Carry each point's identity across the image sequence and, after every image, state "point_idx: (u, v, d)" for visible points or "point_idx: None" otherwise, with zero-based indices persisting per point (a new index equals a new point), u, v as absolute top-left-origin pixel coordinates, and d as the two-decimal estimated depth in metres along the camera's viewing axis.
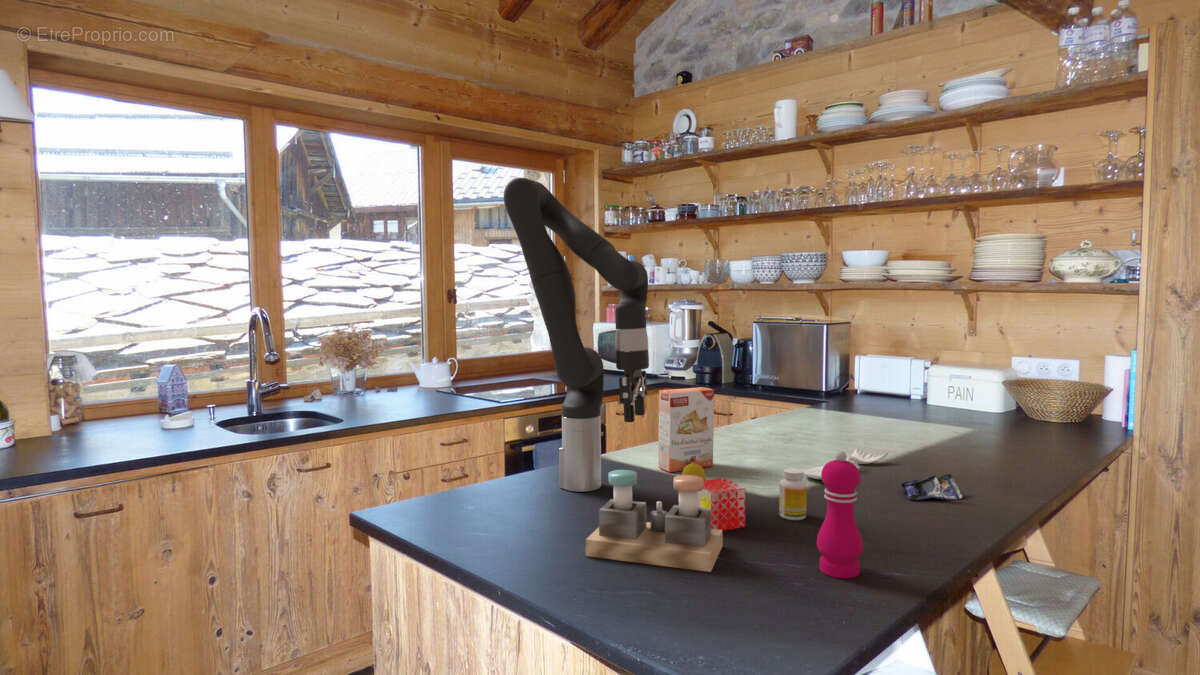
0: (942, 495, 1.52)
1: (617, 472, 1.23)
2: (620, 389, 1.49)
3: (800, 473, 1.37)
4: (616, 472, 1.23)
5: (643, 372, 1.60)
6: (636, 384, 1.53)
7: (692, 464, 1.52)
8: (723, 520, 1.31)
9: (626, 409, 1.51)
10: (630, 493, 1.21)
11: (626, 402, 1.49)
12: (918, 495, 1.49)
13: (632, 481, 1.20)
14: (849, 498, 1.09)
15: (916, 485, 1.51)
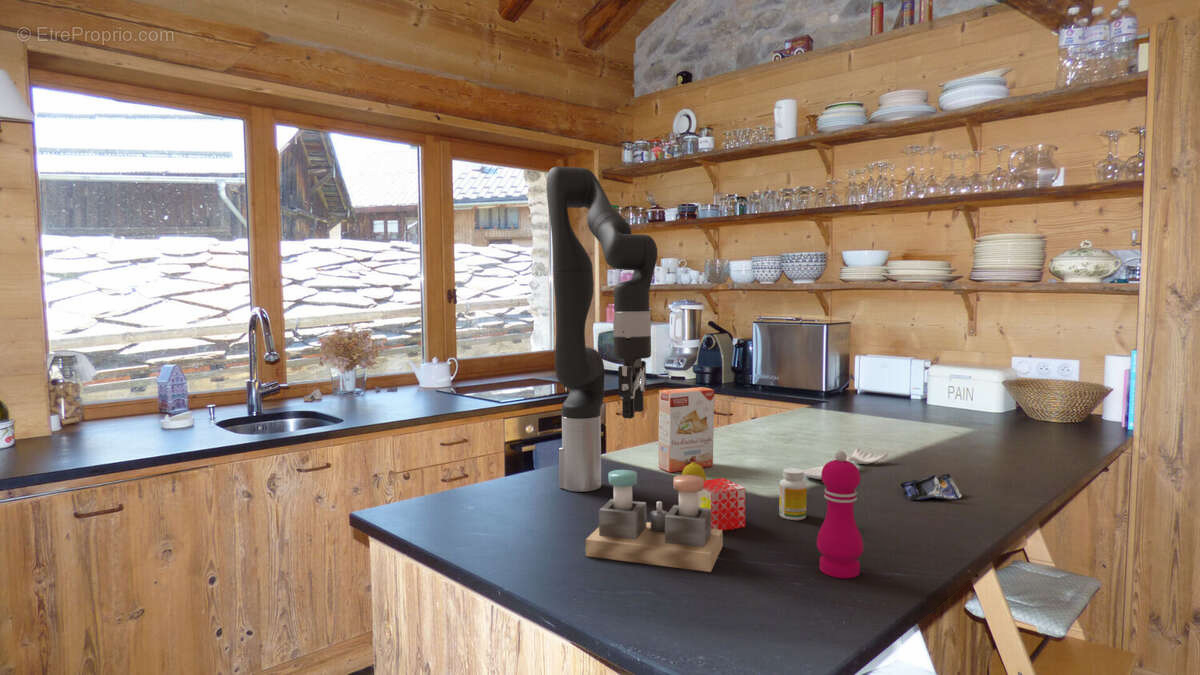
0: (941, 495, 1.52)
1: (617, 472, 1.23)
2: (619, 380, 1.30)
3: (800, 473, 1.37)
4: (616, 472, 1.23)
5: (643, 363, 1.41)
6: (637, 375, 1.33)
7: (692, 464, 1.52)
8: (723, 520, 1.31)
9: (625, 403, 1.31)
10: (630, 493, 1.21)
11: (626, 395, 1.29)
12: (919, 495, 1.49)
13: (632, 481, 1.20)
14: (849, 498, 1.09)
15: (916, 485, 1.51)
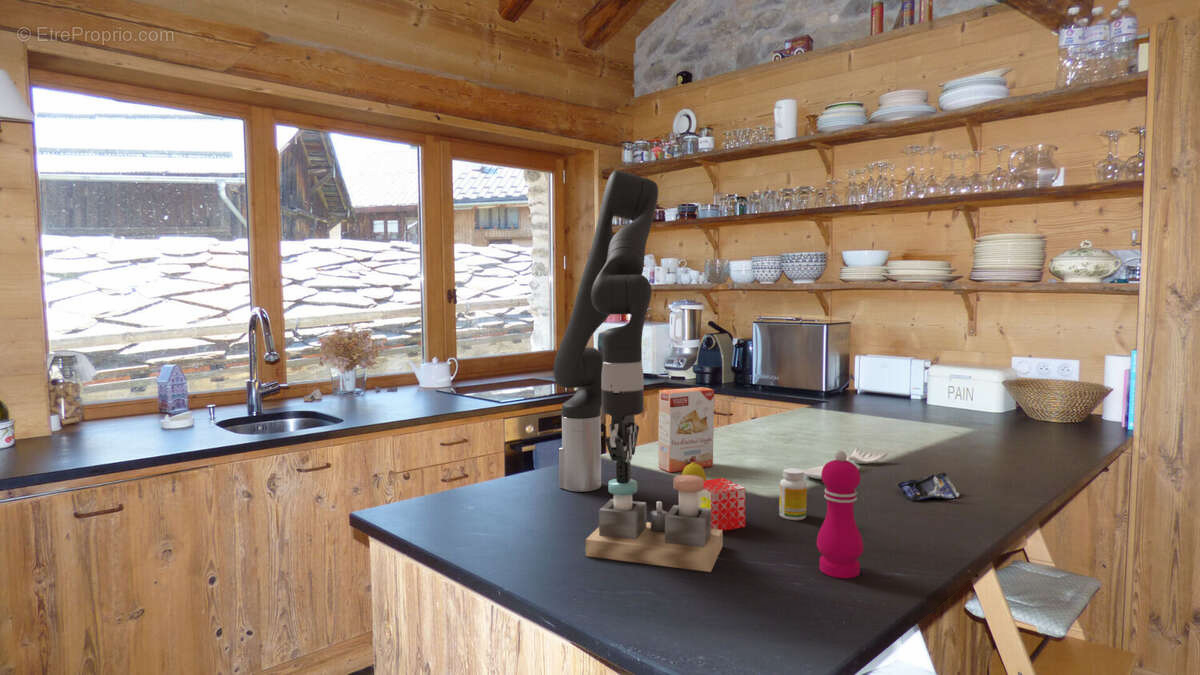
0: (939, 494, 1.53)
1: None
2: (610, 450, 1.18)
3: (800, 473, 1.37)
4: (616, 481, 1.23)
5: (635, 426, 1.26)
6: (628, 436, 1.20)
7: (692, 464, 1.52)
8: (723, 520, 1.31)
9: (619, 467, 1.21)
10: (630, 502, 1.21)
11: (619, 459, 1.19)
12: (920, 495, 1.48)
13: (632, 490, 1.20)
14: (849, 498, 1.09)
15: (915, 485, 1.51)
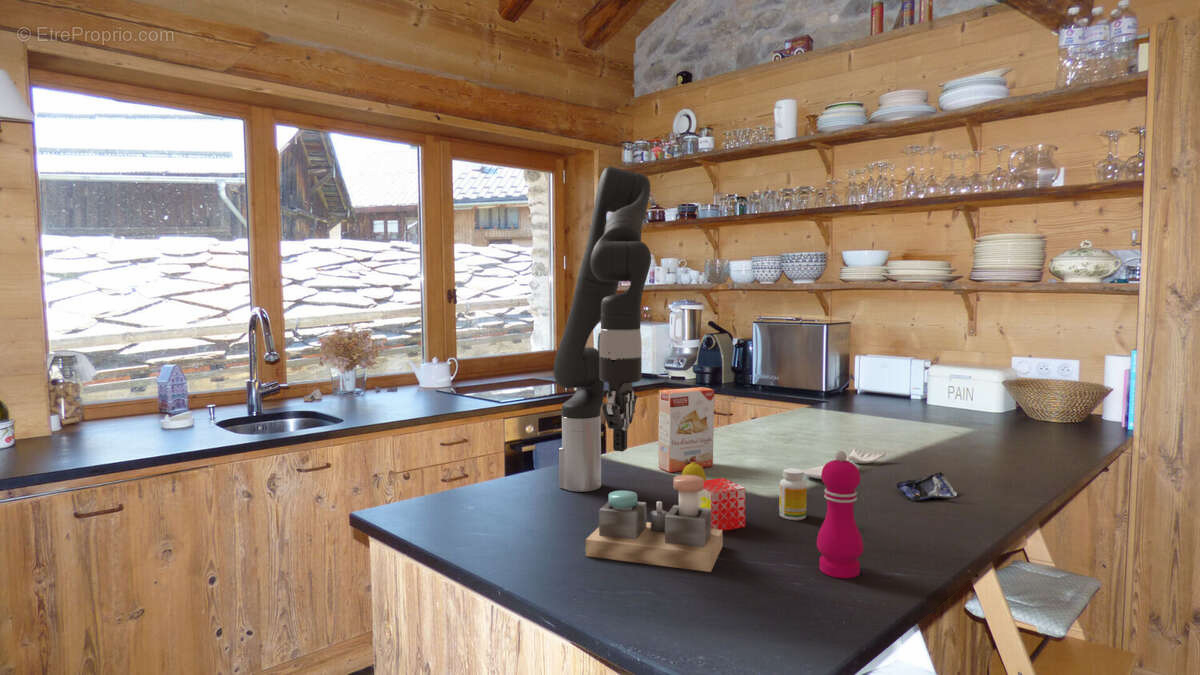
0: (937, 494, 1.53)
1: (617, 494, 1.23)
2: (606, 417, 1.17)
3: (800, 473, 1.37)
4: (616, 493, 1.23)
5: (633, 395, 1.26)
6: (625, 404, 1.19)
7: (692, 464, 1.52)
8: (723, 520, 1.31)
9: (616, 435, 1.20)
10: None
11: (616, 427, 1.18)
12: (920, 495, 1.48)
13: (632, 503, 1.20)
14: (849, 498, 1.09)
15: (915, 485, 1.51)
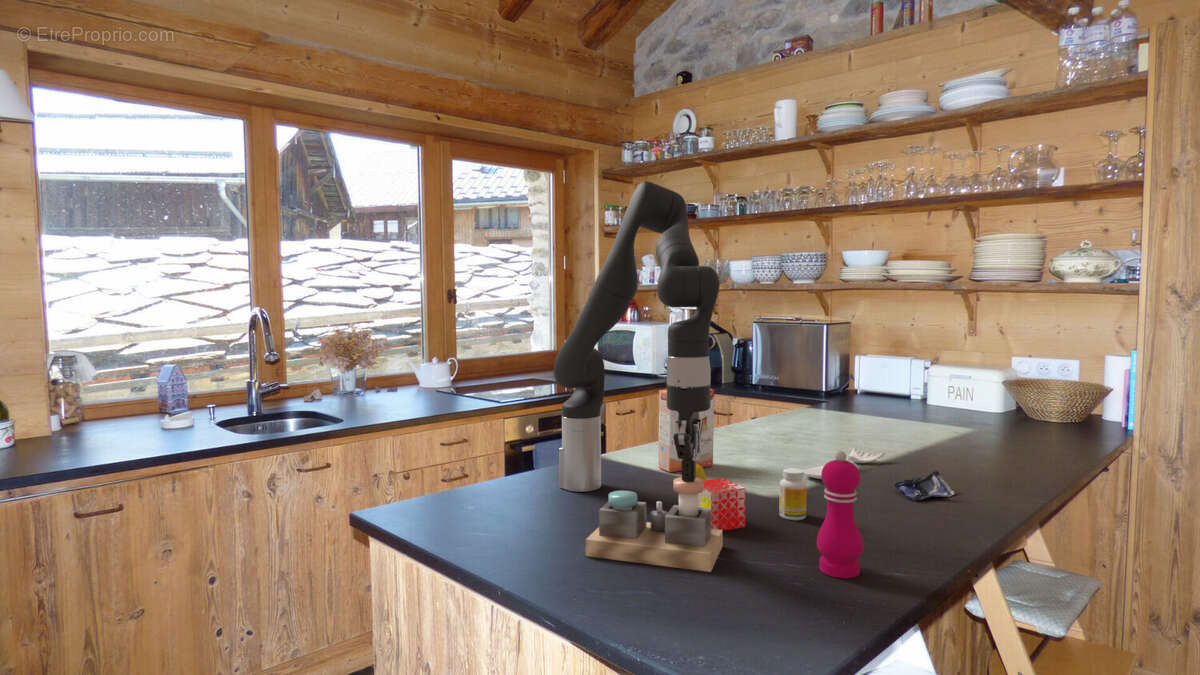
0: (935, 493, 1.54)
1: (617, 494, 1.23)
2: (677, 448, 1.14)
3: (800, 473, 1.37)
4: (616, 493, 1.23)
5: None
6: (695, 434, 1.16)
7: None
8: (723, 520, 1.31)
9: (685, 465, 1.17)
10: None
11: (686, 457, 1.15)
12: (921, 495, 1.48)
13: (632, 503, 1.20)
14: (849, 498, 1.09)
15: (915, 485, 1.51)
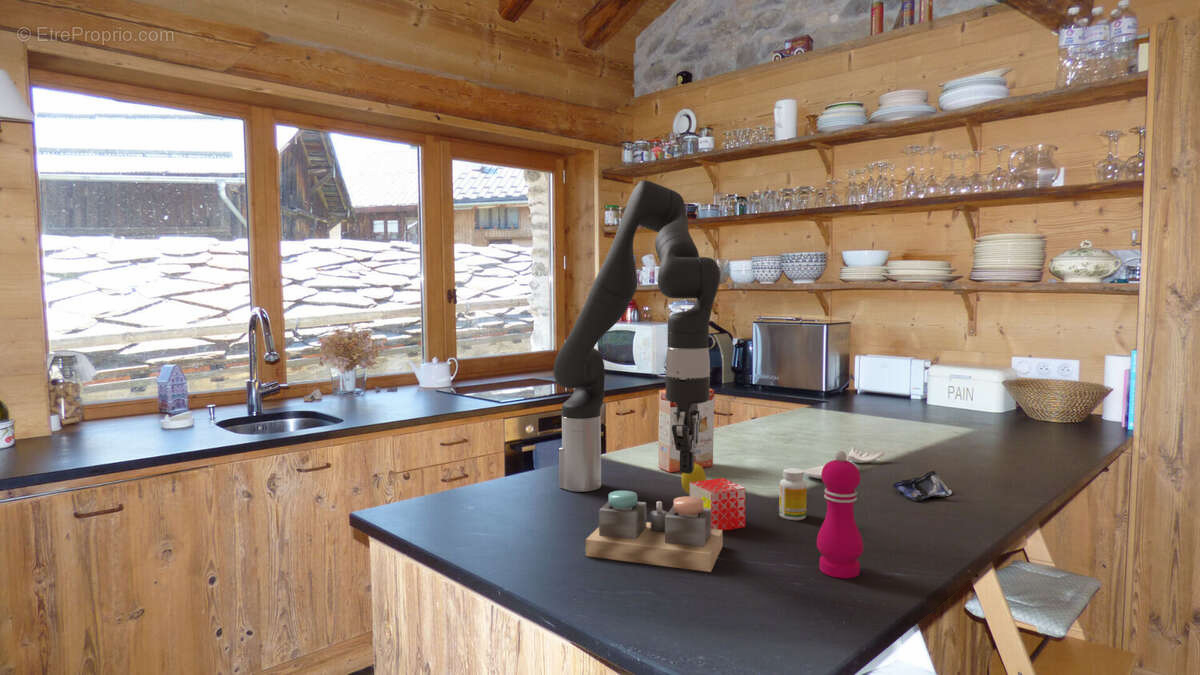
0: None
1: (617, 494, 1.23)
2: (675, 439, 1.13)
3: (800, 473, 1.37)
4: (616, 493, 1.23)
5: None
6: (693, 425, 1.15)
7: None
8: (723, 520, 1.31)
9: (683, 457, 1.17)
10: None
11: (685, 449, 1.15)
12: (922, 495, 1.48)
13: (632, 503, 1.20)
14: (849, 498, 1.09)
15: (914, 485, 1.51)
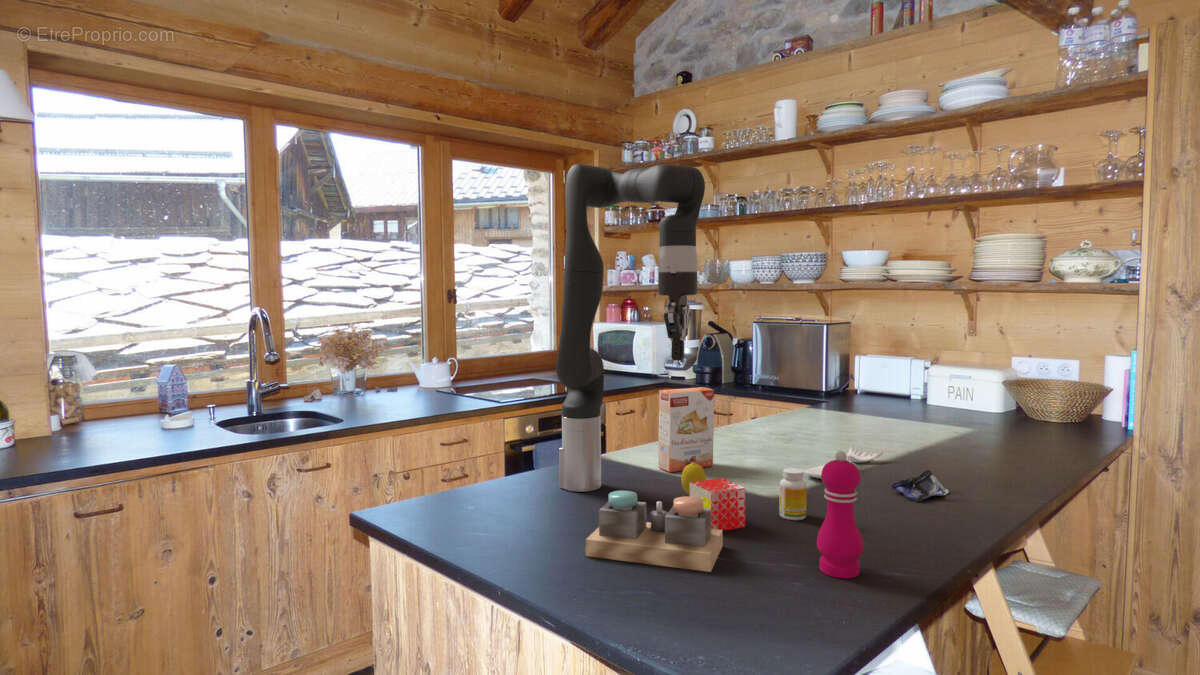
0: None
1: (617, 494, 1.23)
2: (667, 326, 1.27)
3: (800, 473, 1.37)
4: (616, 493, 1.23)
5: None
6: (683, 315, 1.29)
7: (692, 464, 1.52)
8: (723, 520, 1.31)
9: (674, 345, 1.31)
10: None
11: (676, 336, 1.28)
12: (923, 495, 1.48)
13: (632, 503, 1.20)
14: (849, 498, 1.09)
15: (914, 485, 1.51)
